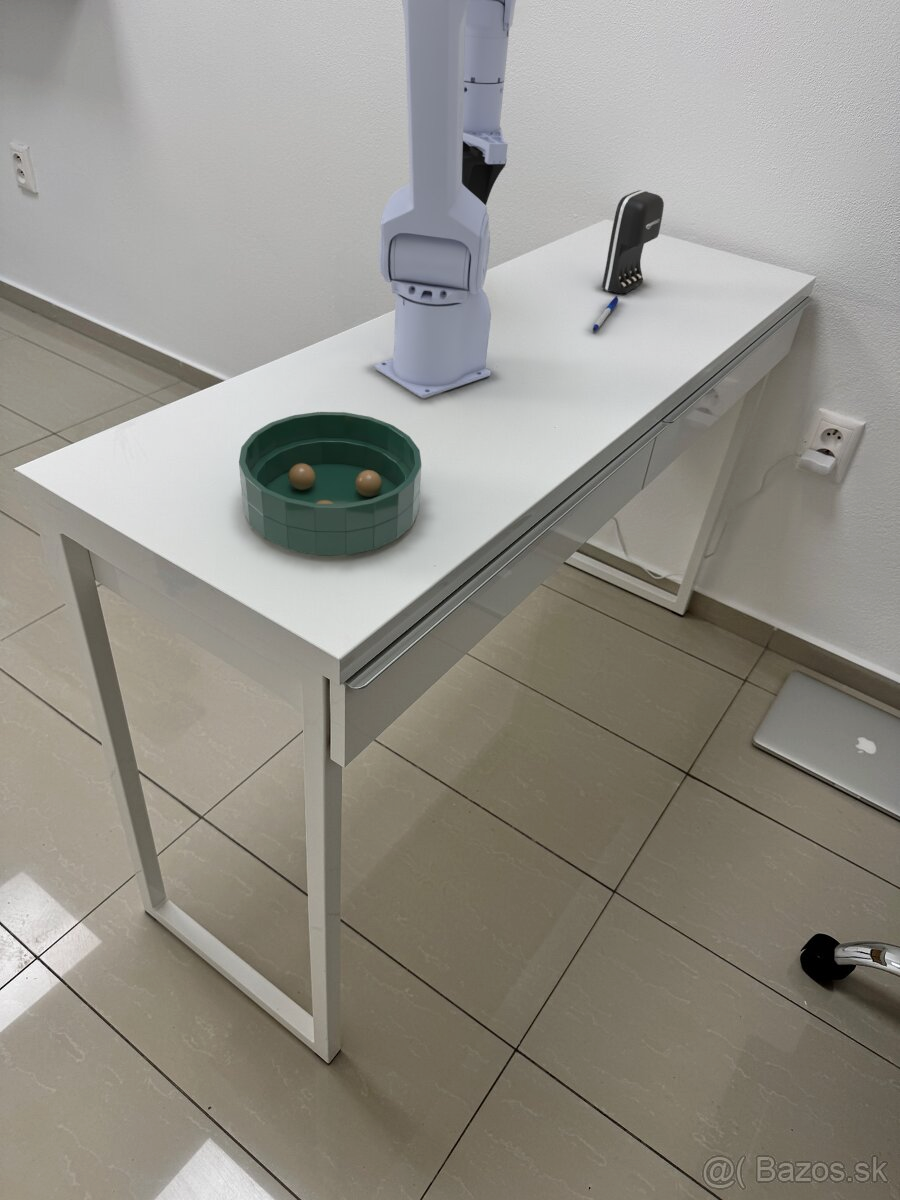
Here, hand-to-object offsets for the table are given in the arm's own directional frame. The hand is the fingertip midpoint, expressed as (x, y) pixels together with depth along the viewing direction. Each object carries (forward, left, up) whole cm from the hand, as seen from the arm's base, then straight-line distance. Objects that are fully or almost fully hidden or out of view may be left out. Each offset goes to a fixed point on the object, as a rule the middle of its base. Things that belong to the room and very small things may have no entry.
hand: (465, 216), depth 98 cm
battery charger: (-23, +7, -11) cm, 26 cm away
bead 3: (+34, +27, -9) cm, 44 cm away
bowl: (+37, +26, -10) cm, 46 cm away
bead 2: (+39, +28, -9) cm, 49 cm away
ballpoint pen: (-13, +12, -10) cm, 21 cm away
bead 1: (+38, +23, -9) cm, 45 cm away
